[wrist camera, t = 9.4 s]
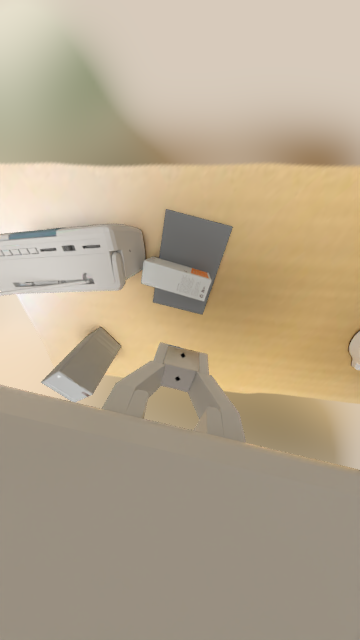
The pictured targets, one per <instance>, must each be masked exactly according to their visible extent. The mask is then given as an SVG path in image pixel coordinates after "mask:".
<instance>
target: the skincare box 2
mask: <svg viewBox="0 0 360 640" xmlns="http://www.w3.org/2000/svg"><path fill="white" fill-rule="evenodd" d="M211 281H212V280H211V278H210V275H209V273H207V272H204V271H201V270H197V269H194V268H190V267H187V266H184V265H180V264H177V263H174V262H170V261H167V260H163V259H160V258H156V257H151V258H148V259H146V260H144V263H143V271H142V280H141V283H142V284H145V285H148V286H151V287H155V288H159V289H162V290H165V291H169V292H173V293H176V294H179V295H183V296H186V297H190V298H193V299H197V300H200V301H204V300H205V297H206V295H207V292H208V289H209V286H210V284H211Z"/></svg>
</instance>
